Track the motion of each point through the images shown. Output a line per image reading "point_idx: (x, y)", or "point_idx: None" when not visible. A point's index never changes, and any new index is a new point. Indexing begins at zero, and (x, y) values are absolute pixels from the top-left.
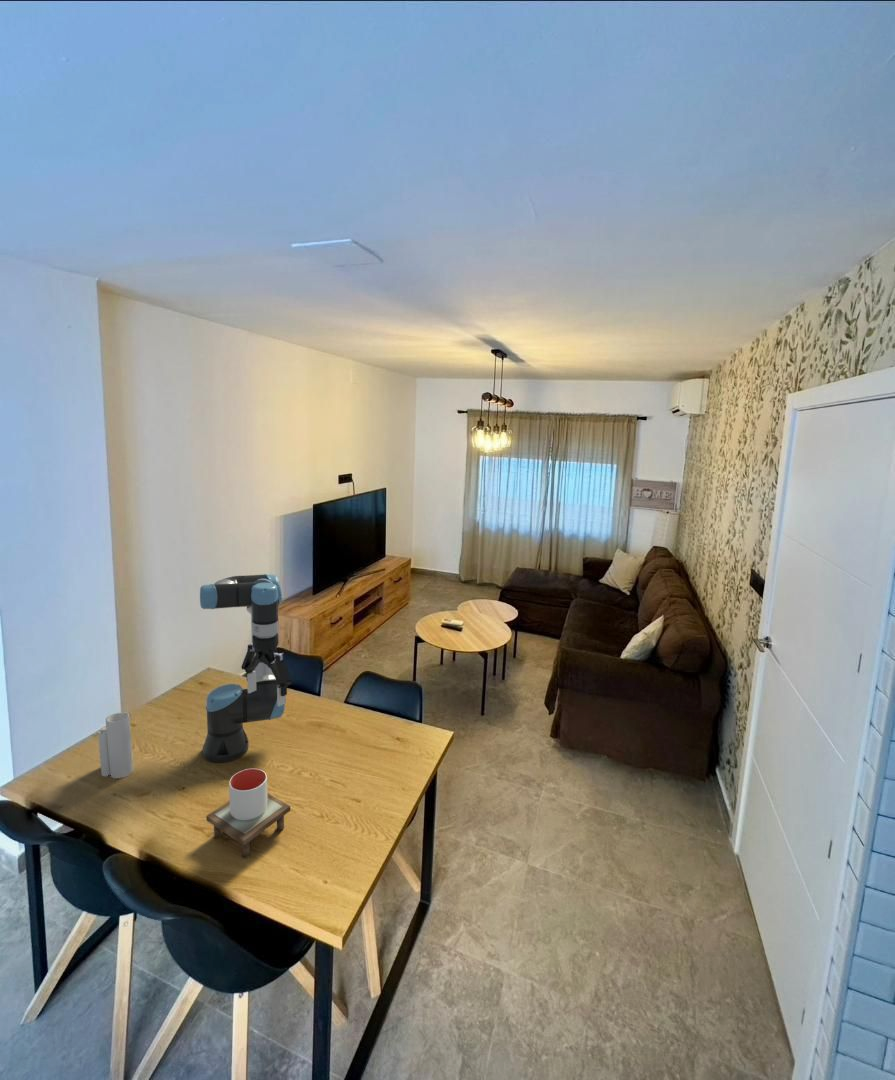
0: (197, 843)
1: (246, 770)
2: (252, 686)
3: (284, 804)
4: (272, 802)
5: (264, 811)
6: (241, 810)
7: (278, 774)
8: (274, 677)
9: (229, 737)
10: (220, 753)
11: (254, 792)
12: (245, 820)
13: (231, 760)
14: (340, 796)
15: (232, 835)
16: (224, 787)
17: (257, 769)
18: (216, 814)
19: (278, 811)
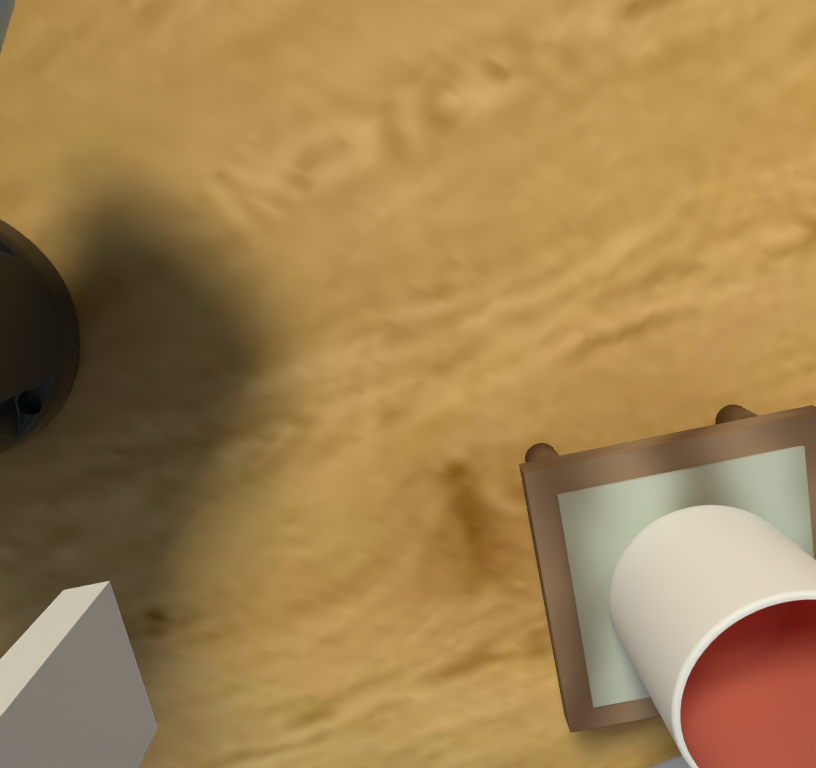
0: (547, 696)
1: (689, 665)
2: (87, 746)
3: (793, 428)
4: (734, 470)
5: None
6: (785, 689)
7: (367, 219)
8: None
9: None
10: (16, 411)
11: None
12: (757, 633)
13: (77, 358)
14: (780, 59)
15: None
16: (279, 479)
17: (746, 613)
18: (602, 702)
19: (813, 478)
